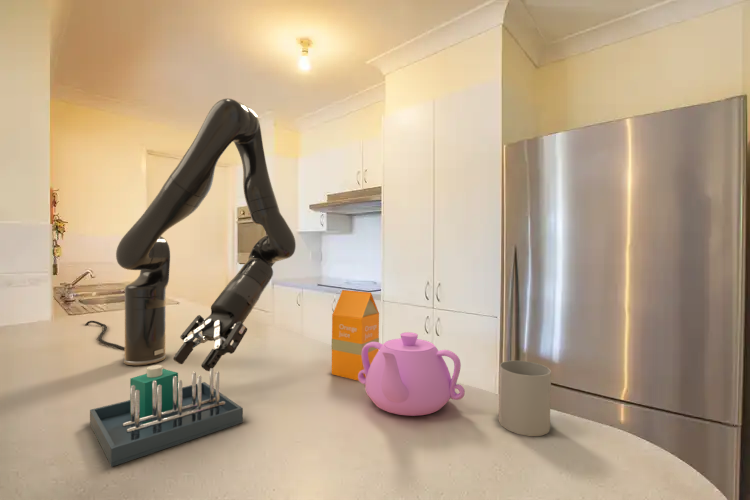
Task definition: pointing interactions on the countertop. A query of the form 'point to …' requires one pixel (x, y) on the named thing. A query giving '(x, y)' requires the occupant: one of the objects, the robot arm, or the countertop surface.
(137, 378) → the detergent bottle
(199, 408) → the dish rack
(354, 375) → the orange juice
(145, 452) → the drip tray
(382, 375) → the teapot
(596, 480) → the countertop surface
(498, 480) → the countertop surface
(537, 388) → the cup
